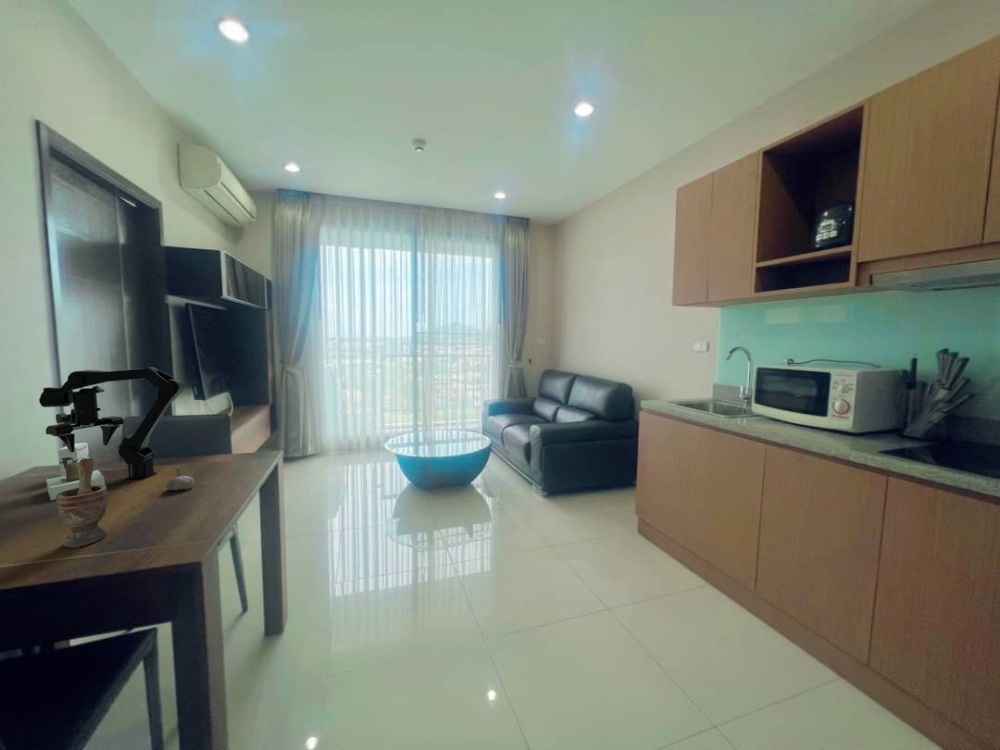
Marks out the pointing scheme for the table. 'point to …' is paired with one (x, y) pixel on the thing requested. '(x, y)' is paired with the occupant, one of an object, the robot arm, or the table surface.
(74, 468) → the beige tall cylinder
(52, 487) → the socket block
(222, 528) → the table surface
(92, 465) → the mortar and pestle
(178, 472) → the garlic bulb
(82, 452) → the ink box
